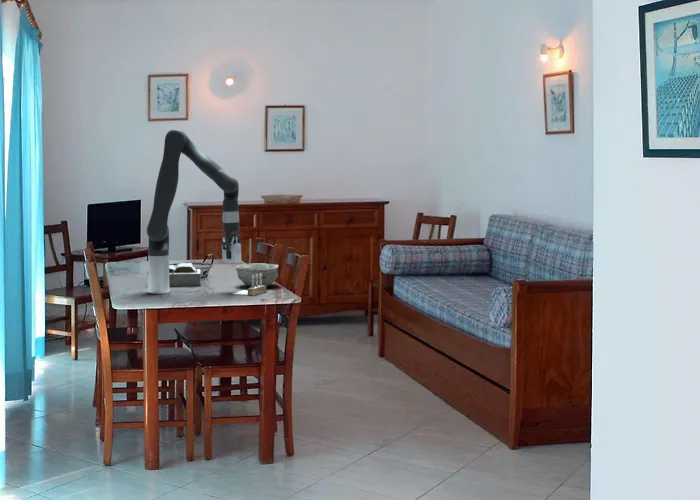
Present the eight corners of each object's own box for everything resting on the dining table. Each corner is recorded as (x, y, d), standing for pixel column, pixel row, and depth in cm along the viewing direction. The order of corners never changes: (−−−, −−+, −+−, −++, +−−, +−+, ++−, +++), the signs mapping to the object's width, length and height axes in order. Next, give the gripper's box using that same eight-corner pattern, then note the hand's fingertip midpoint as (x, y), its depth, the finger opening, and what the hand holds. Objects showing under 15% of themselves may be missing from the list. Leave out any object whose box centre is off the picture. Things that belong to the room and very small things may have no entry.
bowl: (237, 290, 421) (237, 269, 420) (233, 284, 441) (233, 263, 440) (281, 288, 425) (281, 267, 424) (276, 282, 445) (276, 262, 444)
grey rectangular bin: (198, 288, 430) (198, 267, 428) (142, 288, 430) (141, 267, 429) (207, 281, 453) (207, 261, 452) (153, 281, 453) (153, 261, 452)
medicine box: (241, 262, 414) (241, 243, 413) (235, 263, 410) (235, 244, 409) (228, 261, 418) (227, 242, 417) (222, 262, 415) (221, 243, 414)
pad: (232, 294, 410) (232, 293, 410) (243, 290, 419) (243, 290, 419) (247, 295, 407) (247, 294, 407) (258, 291, 416) (258, 291, 416)
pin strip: (247, 295, 406) (247, 275, 405) (260, 291, 416) (260, 272, 416) (253, 296, 404) (253, 276, 403) (266, 292, 415) (266, 272, 414)
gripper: (231, 219, 420) (232, 256, 422) (215, 222, 407) (216, 259, 409) (245, 220, 417) (246, 256, 419) (230, 222, 404) (231, 260, 406)
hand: (231, 258), depth 414 cm, fingers closed on medicine box, 5 cm apart
